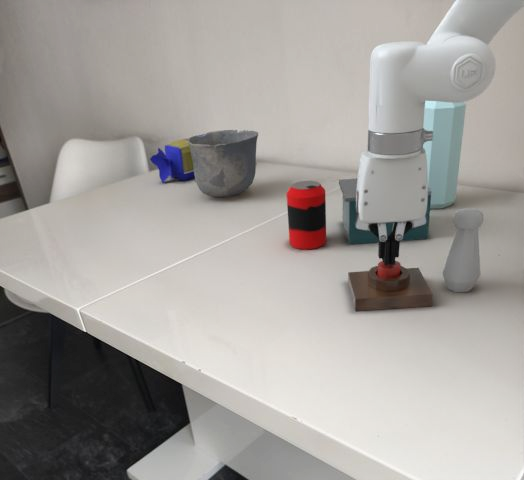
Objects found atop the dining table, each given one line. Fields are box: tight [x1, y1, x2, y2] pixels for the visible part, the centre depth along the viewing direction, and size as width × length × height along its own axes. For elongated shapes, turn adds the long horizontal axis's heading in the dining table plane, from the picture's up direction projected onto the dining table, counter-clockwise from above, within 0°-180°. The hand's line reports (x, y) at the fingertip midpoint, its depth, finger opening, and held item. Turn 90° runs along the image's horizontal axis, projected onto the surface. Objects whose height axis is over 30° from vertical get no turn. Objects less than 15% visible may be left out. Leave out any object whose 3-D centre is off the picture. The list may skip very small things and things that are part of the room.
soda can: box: [286, 180, 327, 251], centre depth 108 cm, size 8×8×12 cm
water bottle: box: [423, 101, 467, 210], centre depth 118 cm, size 10×10×25 cm
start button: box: [377, 260, 402, 278], centre depth 87 cm, size 4×4×2 cm
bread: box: [149, 133, 205, 183], centre depth 163 cm, size 10×25×10 cm, turn 130°
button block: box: [347, 265, 434, 312], centre depth 88 cm, size 12×10×4 cm
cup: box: [188, 129, 259, 198], centre depth 140 cm, size 18×18×15 cm
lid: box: [338, 177, 431, 202], centre depth 109 cm, size 16×13×1 cm
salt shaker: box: [442, 207, 484, 293], centre depth 86 cm, size 6×6×13 cm
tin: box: [342, 195, 431, 245], centre depth 111 cm, size 16×13×9 cm
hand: (388, 261), depth 86 cm, fingers closed
